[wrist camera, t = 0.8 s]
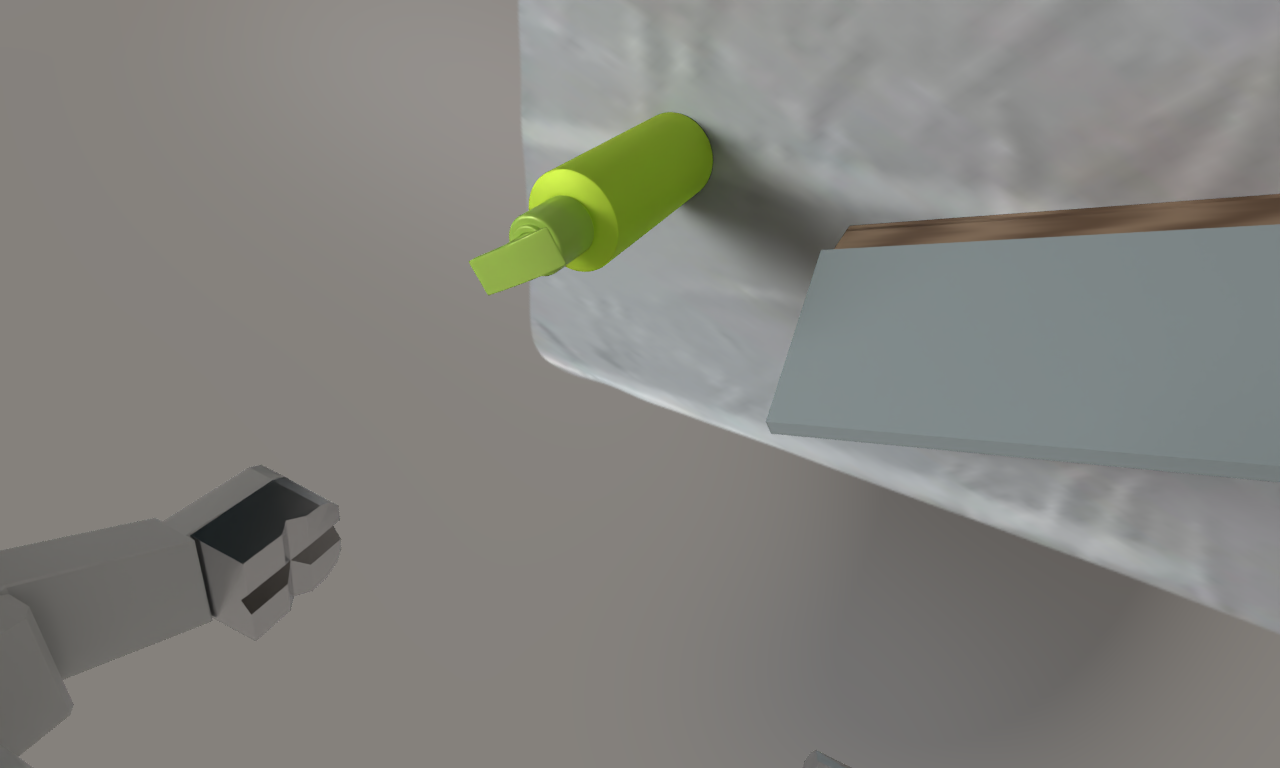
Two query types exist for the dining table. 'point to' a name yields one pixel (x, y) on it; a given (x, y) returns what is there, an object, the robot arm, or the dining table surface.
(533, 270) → the soap dispenser
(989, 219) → the wooden box
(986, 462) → the dining table surface
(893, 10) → the dining table surface
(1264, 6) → the dining table surface
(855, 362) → the lid
